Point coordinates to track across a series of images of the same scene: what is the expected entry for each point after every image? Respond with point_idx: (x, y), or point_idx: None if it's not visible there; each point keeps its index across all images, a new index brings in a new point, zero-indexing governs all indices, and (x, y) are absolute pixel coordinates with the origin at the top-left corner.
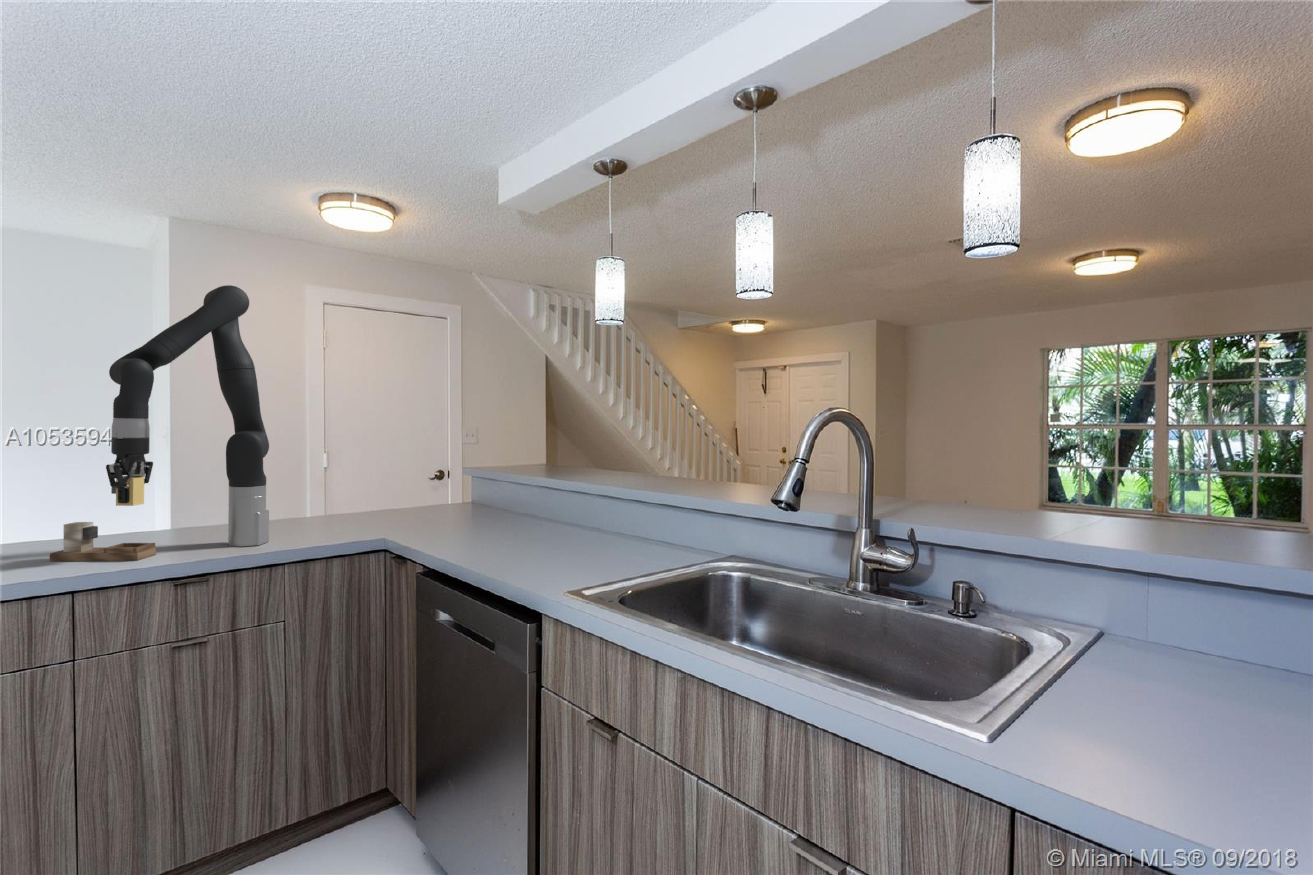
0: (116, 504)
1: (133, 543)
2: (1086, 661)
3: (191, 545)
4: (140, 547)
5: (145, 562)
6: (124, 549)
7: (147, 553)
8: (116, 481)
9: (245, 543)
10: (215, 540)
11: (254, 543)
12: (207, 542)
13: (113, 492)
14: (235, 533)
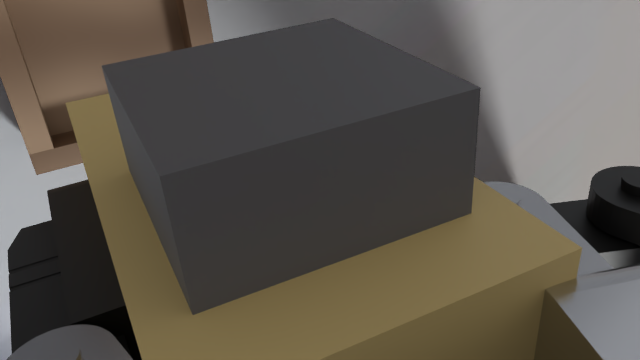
0: (70, 116)
1: (182, 6)
2: None
3: (460, 54)
4: (77, 163)
5: (24, 205)
6: (9, 95)
7: None
8: (145, 354)
9: None
10: (564, 65)
11: None
12: (524, 68)
13: (116, 111)
14: None
